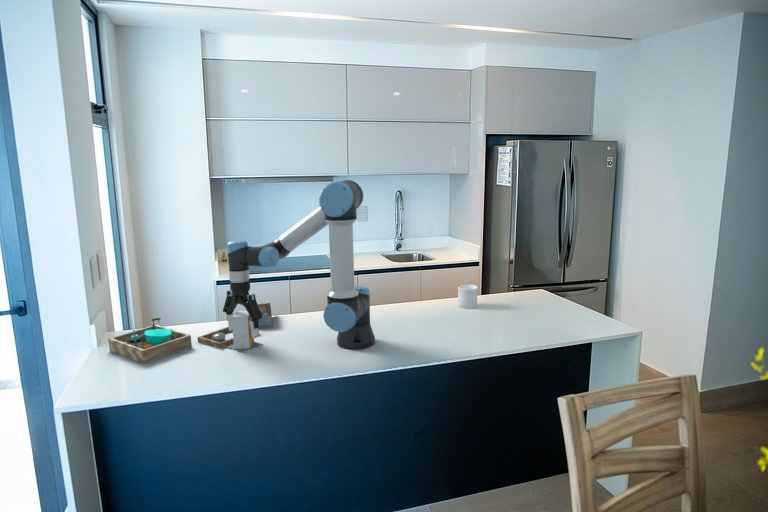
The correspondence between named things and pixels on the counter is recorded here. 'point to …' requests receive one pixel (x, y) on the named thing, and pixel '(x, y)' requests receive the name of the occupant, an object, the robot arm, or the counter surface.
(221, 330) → the frame
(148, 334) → the contraption on wooden base
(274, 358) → the counter surface
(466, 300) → the cup
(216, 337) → the tin
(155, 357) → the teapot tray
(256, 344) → the mat
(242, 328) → the small box
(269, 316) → the beverage carton
